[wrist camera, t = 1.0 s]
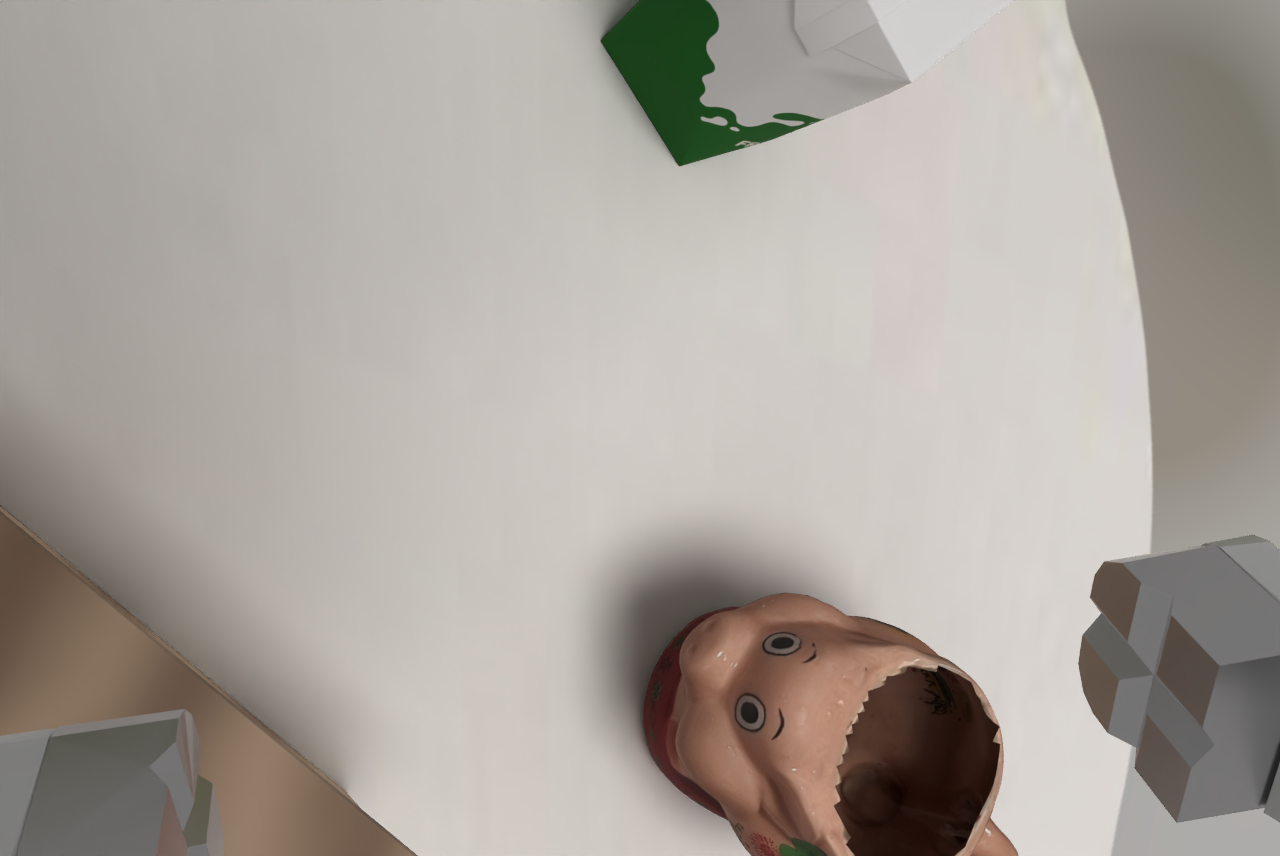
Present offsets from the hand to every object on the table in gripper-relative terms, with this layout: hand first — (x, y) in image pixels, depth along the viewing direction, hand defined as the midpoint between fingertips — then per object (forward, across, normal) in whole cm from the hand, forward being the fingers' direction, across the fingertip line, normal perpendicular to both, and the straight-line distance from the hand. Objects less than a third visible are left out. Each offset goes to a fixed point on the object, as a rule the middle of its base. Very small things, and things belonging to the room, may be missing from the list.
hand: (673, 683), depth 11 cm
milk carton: (+52, -13, +8) cm, 54 cm away
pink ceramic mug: (+36, -12, +37) cm, 53 cm away
